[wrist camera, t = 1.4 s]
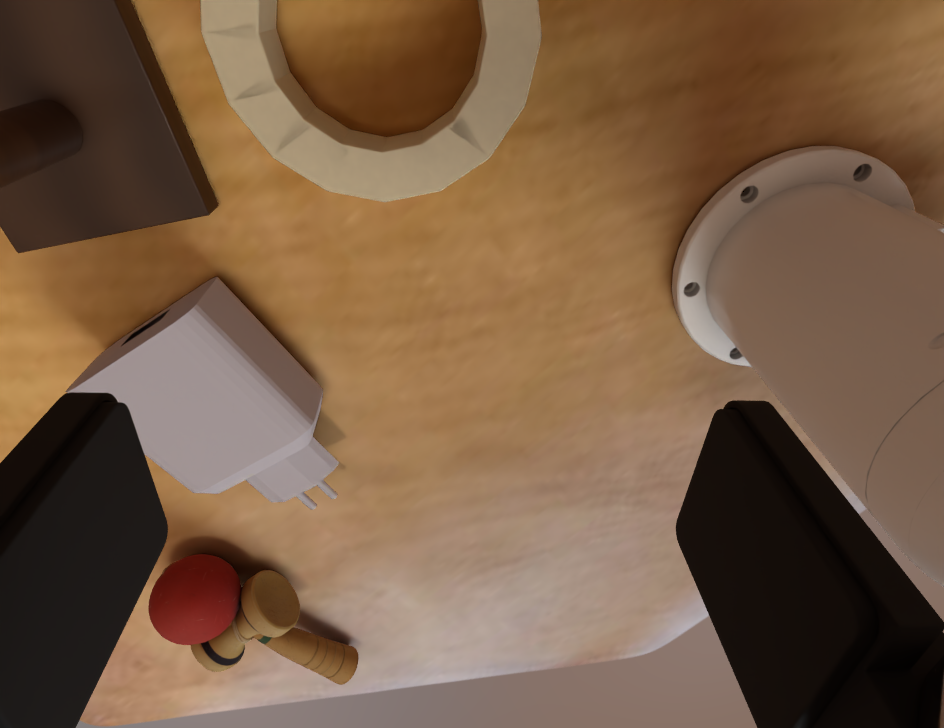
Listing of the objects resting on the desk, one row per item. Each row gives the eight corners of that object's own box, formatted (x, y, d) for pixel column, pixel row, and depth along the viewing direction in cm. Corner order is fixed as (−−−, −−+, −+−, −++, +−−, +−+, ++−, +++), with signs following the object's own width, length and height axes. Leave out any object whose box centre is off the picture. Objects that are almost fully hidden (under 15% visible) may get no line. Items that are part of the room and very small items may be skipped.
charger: (279, 502, 41) (102, 349, 34) (386, 447, 39) (221, 270, 31) (261, 557, 37) (57, 398, 30) (379, 500, 35) (188, 311, 27)
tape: (506, -210, 22) (514, -236, 19) (546, 152, 29) (556, 168, 26) (168, -128, 22) (133, -143, 20) (288, 204, 30) (273, 224, 27)
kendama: (387, 612, 50) (209, 527, 40) (377, 694, 46) (174, 620, 36) (325, 631, 54) (146, 556, 44) (310, 708, 49) (108, 645, 39)
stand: (119, -29, 24) (-17, -35, 17) (219, 205, 30) (148, 275, 22) (-104, 22, 25) (-325, 37, 18) (35, 242, 30) (-92, 322, 23)
